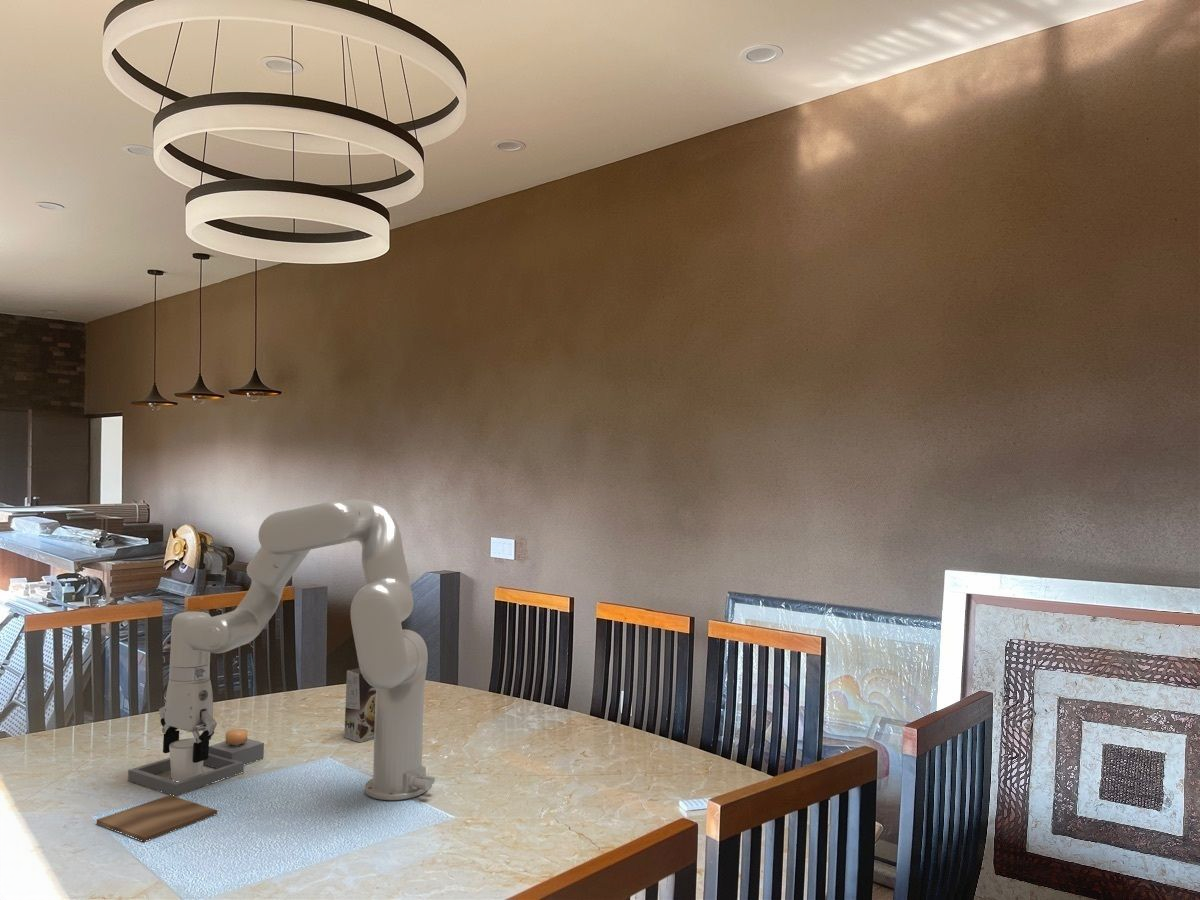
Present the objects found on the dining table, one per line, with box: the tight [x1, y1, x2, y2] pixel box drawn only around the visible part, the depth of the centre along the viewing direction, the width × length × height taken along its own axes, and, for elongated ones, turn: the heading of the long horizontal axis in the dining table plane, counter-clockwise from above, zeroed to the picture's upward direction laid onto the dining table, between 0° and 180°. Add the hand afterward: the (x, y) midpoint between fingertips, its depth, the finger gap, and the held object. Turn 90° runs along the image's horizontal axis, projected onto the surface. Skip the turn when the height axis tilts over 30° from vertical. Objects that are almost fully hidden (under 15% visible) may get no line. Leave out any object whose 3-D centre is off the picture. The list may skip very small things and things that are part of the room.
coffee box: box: [343, 667, 377, 743], centre depth 205 cm, size 9×6×16 cm
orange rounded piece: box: [224, 728, 248, 747], centre depth 186 cm, size 4×4×4 cm
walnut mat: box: [96, 794, 218, 842], centre depth 154 cm, size 14×14×1 cm
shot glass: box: [169, 737, 204, 781], centre depth 175 cm, size 7×7×7 cm
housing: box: [127, 738, 265, 797], centre depth 179 cm, size 15×23×4 cm, turn 150°
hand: (185, 756), depth 175 cm, fingers open, 9 cm apart
